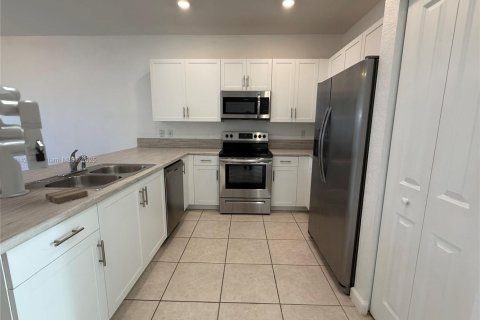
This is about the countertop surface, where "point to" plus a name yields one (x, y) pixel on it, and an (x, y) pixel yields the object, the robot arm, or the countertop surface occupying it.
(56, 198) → the block
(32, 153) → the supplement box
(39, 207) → the countertop surface
